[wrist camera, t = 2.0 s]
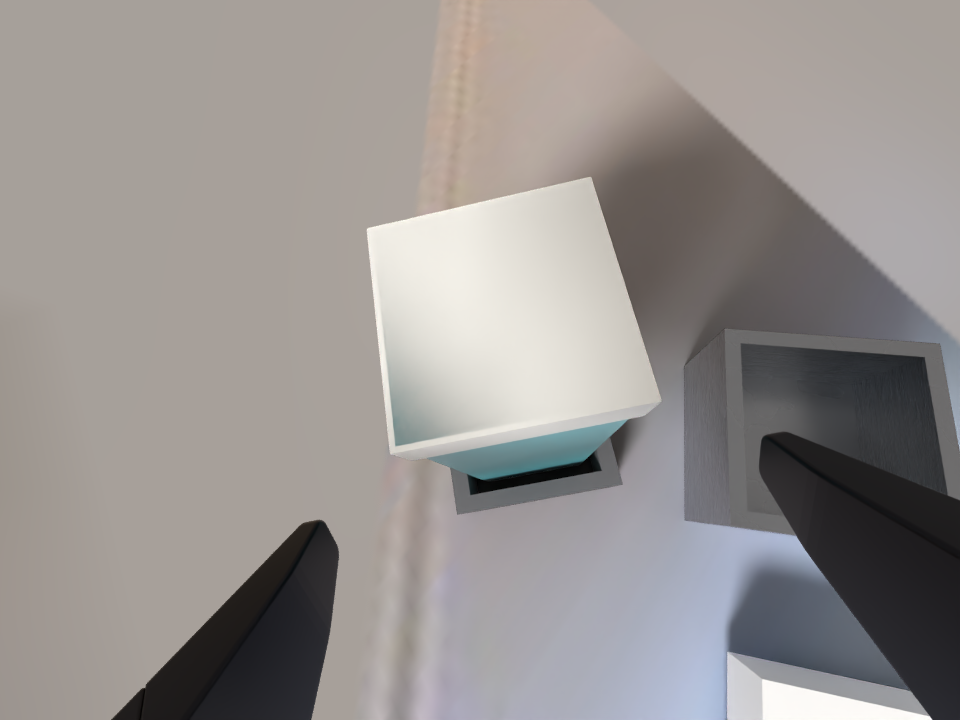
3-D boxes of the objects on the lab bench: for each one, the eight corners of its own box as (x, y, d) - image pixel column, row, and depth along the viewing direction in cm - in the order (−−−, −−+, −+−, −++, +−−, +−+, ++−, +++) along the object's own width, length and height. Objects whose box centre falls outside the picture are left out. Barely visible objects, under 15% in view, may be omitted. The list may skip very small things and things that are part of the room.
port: (866, 545, 17) (979, 560, 12) (684, 520, 18) (730, 526, 13) (848, 379, 18) (940, 343, 14) (684, 366, 20) (724, 328, 15)
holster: (611, 486, 18) (622, 484, 16) (467, 512, 19) (457, 514, 16) (576, 349, 20) (581, 330, 18) (446, 376, 21) (434, 360, 18)
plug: (582, 467, 19) (662, 401, 7) (486, 484, 19) (390, 454, 7) (559, 374, 20) (591, 176, 8) (470, 392, 20) (366, 228, 8)
